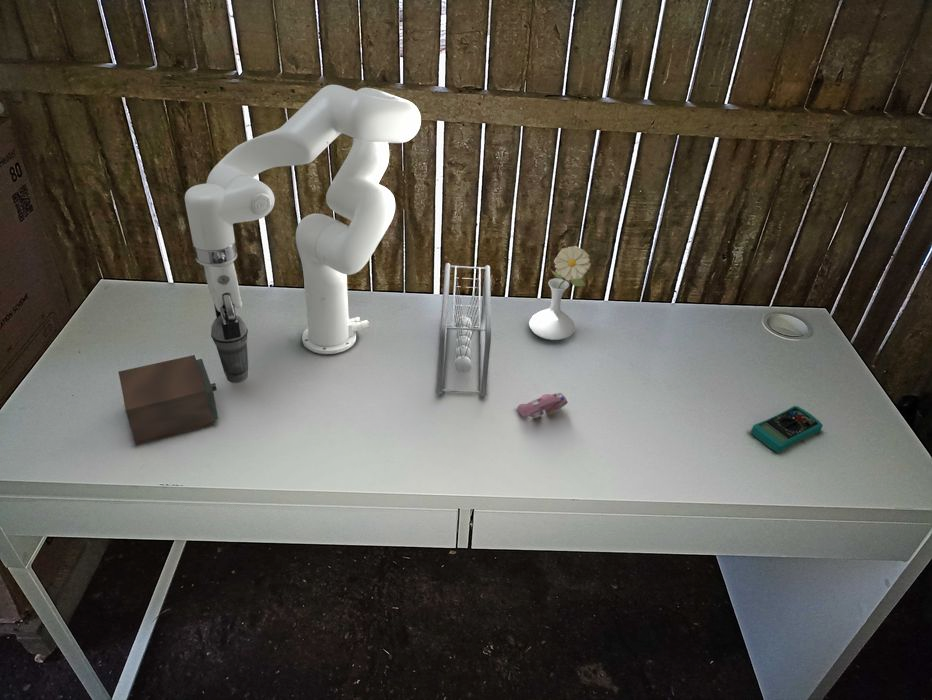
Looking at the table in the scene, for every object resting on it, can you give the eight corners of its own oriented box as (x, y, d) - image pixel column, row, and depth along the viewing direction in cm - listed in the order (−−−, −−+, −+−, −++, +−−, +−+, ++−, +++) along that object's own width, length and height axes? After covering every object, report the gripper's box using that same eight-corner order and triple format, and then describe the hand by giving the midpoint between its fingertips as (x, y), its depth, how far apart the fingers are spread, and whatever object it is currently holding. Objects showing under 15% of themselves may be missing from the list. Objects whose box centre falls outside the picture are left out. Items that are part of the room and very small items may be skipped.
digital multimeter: (821, 432, 154) (826, 422, 152) (776, 455, 147) (781, 445, 146) (793, 412, 159) (797, 402, 157) (748, 434, 152) (752, 423, 150)
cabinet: (201, 388, 154) (194, 354, 148) (213, 425, 145) (206, 390, 140) (128, 406, 148) (118, 371, 143) (136, 445, 139) (125, 409, 134)
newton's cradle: (442, 321, 180) (445, 259, 169) (484, 323, 180) (490, 261, 169) (436, 398, 156) (439, 331, 145) (485, 401, 156) (491, 334, 145)
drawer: (213, 384, 154) (207, 357, 150) (224, 417, 146) (219, 389, 141) (139, 401, 148) (132, 373, 144) (147, 436, 140) (139, 408, 136)
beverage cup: (245, 389, 150) (231, 310, 138) (213, 384, 151) (196, 304, 139) (260, 369, 156) (248, 290, 144) (229, 363, 157) (215, 285, 145)
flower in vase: (519, 330, 178) (530, 241, 164) (545, 313, 186) (558, 225, 171) (562, 353, 172) (578, 261, 157) (588, 333, 179) (605, 244, 164)
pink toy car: (523, 427, 152) (534, 414, 146) (514, 408, 154) (524, 394, 148) (561, 414, 156) (574, 401, 150) (552, 396, 158) (564, 382, 152)
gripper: (246, 268, 131) (257, 347, 141) (226, 227, 143) (238, 302, 154) (203, 275, 128) (218, 356, 138) (187, 233, 140) (201, 309, 151)
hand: (228, 327), depth 146 cm, fingers closed on beverage cup, 6 cm apart
